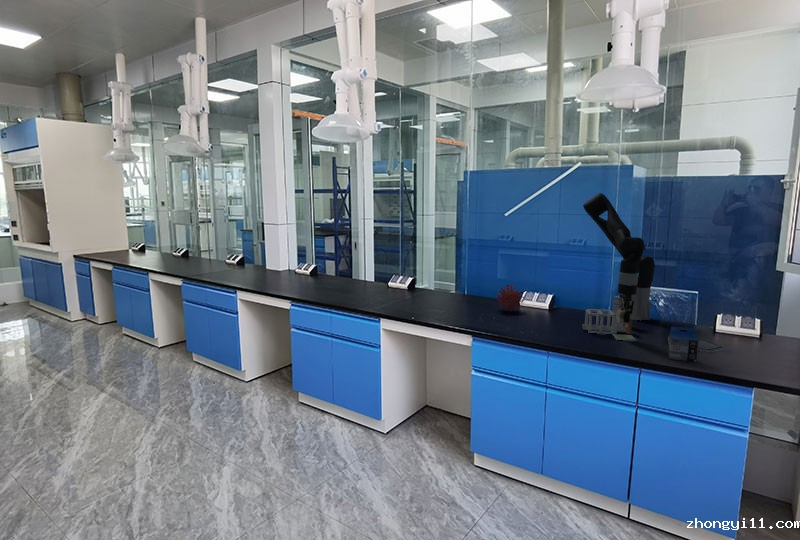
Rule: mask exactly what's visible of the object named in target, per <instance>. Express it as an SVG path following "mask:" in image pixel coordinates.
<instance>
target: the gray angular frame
mask: <svg viewBox="0 0 800 540" xmlns="http://www.w3.org/2000/svg"><path fill="white" fill-rule="evenodd" d="M593 316H594V317H596V320H595V321H596V322H595V325H600V330H591V325H593V324H592V323H593V322H592V320H593ZM615 316H616V315H615V314H614V313H613V310H611V309H595V308H585V316H584V317H585V319H584V324H589V327H588V330H587V334H589V333H597V334H596V335H606V334H617V333H618V331H617V325H616V324H615ZM604 317H607V321H606V325H609V326H612V330H611V331H603V325H604ZM611 317H612V319H611ZM611 320H612V321H611ZM599 322H600V323H599Z"/></svg>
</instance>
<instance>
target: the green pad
mask: <svg viewBox="0 0 800 540" xmlns="http://www.w3.org/2000/svg"><path fill="white" fill-rule="evenodd" d="M612 335H613V336H614V337H613V336H612ZM612 335H611V336H612V337H613V338H614V340H616V341H617V340H623V341H622V342H634V341H636V342H637V339H636V338H635V337H634V336H633V335H632V334H620V333H619V334H612Z"/></svg>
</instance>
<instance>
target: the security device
mask: <svg viewBox="0 0 800 540" xmlns="http://www.w3.org/2000/svg"><path fill="white" fill-rule="evenodd" d="M669 342H670V335H668V336H667V343H668V345H667V346H669ZM723 348H724V347H723V346H720V345H718V344H715V343H713V342H710V341H707V340H701V339H698V349H697V350H702V351H710V352H711V351H715V350H720V349H723ZM702 351H701V352H702Z"/></svg>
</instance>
